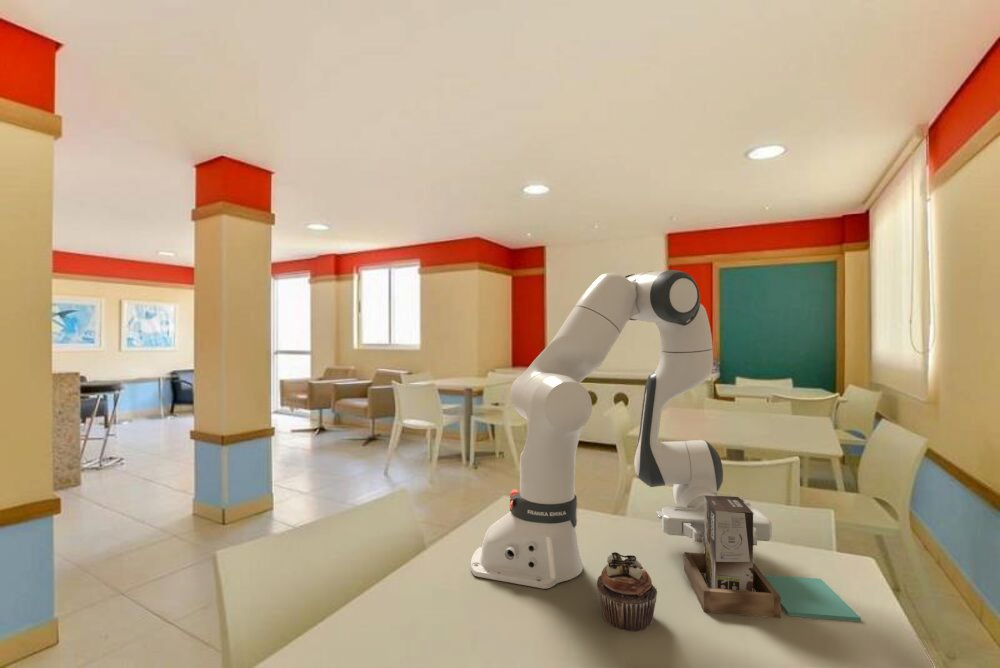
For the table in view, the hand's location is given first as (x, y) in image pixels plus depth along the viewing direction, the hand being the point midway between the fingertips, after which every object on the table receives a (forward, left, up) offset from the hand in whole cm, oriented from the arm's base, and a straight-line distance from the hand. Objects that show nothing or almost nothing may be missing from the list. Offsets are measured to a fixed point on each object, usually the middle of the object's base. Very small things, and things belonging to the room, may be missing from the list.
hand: (725, 539), depth 89 cm
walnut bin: (0, -1, -9) cm, 9 cm away
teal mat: (+13, -1, -9) cm, 16 cm away
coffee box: (0, -1, -9) cm, 9 cm away
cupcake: (-19, -12, -9) cm, 24 cm away
